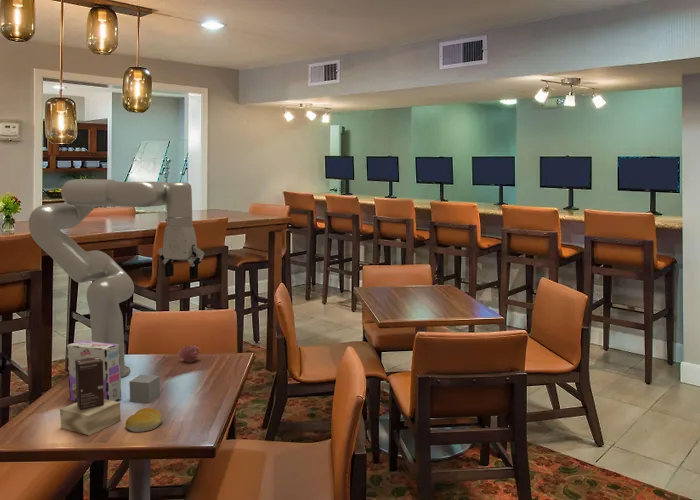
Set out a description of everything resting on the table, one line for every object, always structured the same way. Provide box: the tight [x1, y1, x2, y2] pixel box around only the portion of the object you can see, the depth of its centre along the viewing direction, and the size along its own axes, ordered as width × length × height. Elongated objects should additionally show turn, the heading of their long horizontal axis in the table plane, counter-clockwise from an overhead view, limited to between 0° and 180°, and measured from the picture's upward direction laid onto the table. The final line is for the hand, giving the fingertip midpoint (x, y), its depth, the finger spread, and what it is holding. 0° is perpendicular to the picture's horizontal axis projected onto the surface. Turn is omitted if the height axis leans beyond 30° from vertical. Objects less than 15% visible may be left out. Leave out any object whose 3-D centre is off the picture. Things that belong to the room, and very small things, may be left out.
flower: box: [177, 344, 202, 363], centre depth 208 cm, size 8×8×6 cm
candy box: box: [66, 339, 122, 402], centre depth 172 cm, size 14×6×16 cm, turn 71°
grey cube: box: [128, 374, 161, 404], centre depth 173 cm, size 6×6×6 cm
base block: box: [59, 399, 122, 436], centre depth 155 cm, size 10×10×5 cm
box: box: [75, 357, 104, 410], centre depth 154 cm, size 6×4×12 cm
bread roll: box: [125, 407, 163, 433], centre depth 155 cm, size 8×9×4 cm
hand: (181, 277), depth 188 cm, fingers open, 9 cm apart
